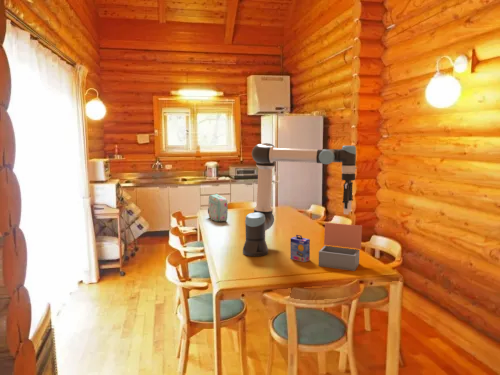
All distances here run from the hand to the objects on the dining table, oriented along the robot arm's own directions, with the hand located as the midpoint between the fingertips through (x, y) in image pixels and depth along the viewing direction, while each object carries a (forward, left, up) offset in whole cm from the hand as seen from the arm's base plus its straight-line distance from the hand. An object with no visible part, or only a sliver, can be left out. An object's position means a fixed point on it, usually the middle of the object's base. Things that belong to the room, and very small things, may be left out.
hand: (347, 212), depth 218 cm
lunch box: (-118, +53, -25) cm, 132 cm away
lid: (0, -12, -10) cm, 16 cm away
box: (0, -19, -25) cm, 31 cm away
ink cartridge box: (-22, -19, -25) cm, 39 cm away
